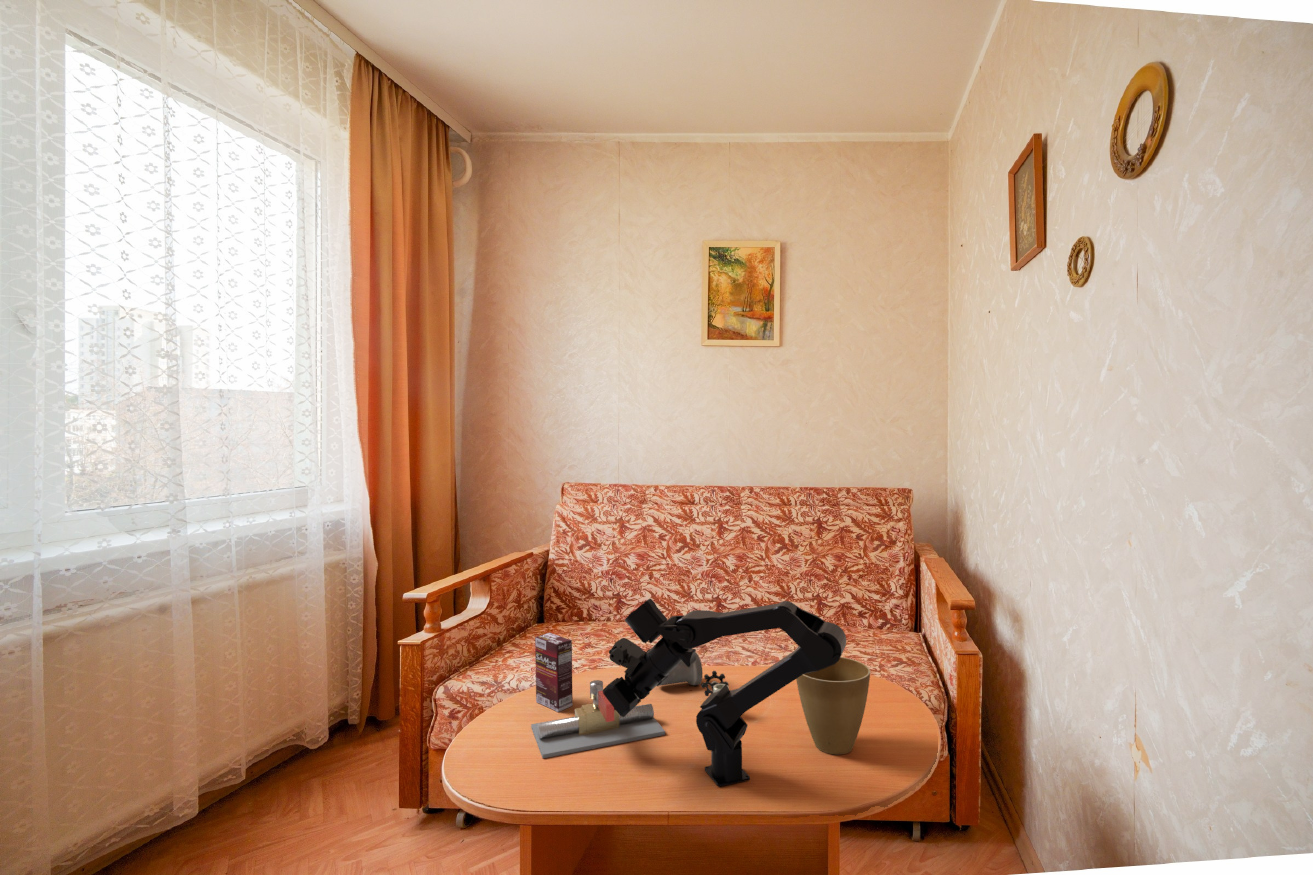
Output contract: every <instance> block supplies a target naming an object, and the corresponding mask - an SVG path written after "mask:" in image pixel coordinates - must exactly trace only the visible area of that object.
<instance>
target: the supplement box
mask: <svg viewBox="0 0 1313 875" xmlns="http://www.w3.org/2000/svg"><path fill="white" fill-rule="evenodd" d="M534 642H535V643H534V646H535V647H534V648H535V702H536V704H537V703H538V704H540V705H542V706H544V707H546V708H549V709H552V710H553V711H555V712H556V713H560V712H562V711H565V710H566V709H569V708H571V707H572V706H573V704H574V703H573V641H572V639H571V638H566V637H563V636H561V635H558V634H554V633H552V632H546V633H544V634H540V635H538V636H535V637H534Z"/></svg>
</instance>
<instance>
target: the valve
mask: <svg viewBox="0 0 1313 875" xmlns="http://www.w3.org/2000/svg"><path fill="white" fill-rule="evenodd" d="M711 674H712V675H709V674H707V673H706V674H704V676H703V677H704V680H705V682H704V681H703V682H701V684H700V686H701V688H702V689H705V688H706V689H705V690H704V695H705V697H709V696H710V694H711V693H714V692H717V691H719V690H720V689H721V688H722V687H723V686H724V685H725V684H727V686H728V688H729V685H730V684H729V682H728V681H727V680H726V681H724V680H725V679H726V676H725V674H724V673H720V674H719V675H718V673H717V670H713V671H711ZM713 679H717V680H719V682H718V681H715V680H713ZM711 680H713V681H712V682H710V681H711ZM709 686H710V687H711V689H710V688H709ZM729 689H730V688H729Z"/></svg>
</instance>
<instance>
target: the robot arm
mask: <svg viewBox="0 0 1313 875" xmlns="http://www.w3.org/2000/svg"><path fill="white" fill-rule="evenodd" d="M624 622H625V623H626V624H627V625H628V626H629V628H630V629H631V630H632V631H633V633H634V634H635V635H636V636H637V638H639V639H640V641H641V642H642V643H644V644H647V642H648V643H649V644H652V643H654V642H655V641H656V640H657V639H658V638H659V637H661V638H660V639H659V640H658V641H657V642H656V643H655V644H654V645H653V646H652V647H651V648H649V649H648V650H647V651H645V650H644V649H642V647H640V646H639V645H637V644H636V643H634V642H633V641H631V640H630V639H628V638H626V637H622V638H620V639H618V640H617V641H615V643H614V644H613V646H612V648H611V649H609V650H608V653H609V655H608V656H609V660H610V661H611V662H612V663H614V664H616V665H617V666H621V667H624V668H625V670H624V671H623V672H624V677H622V676H621V677H616V678H615V679H613V680H612V681H611V682H610V683H608V684H607V685H606V686H605V687H603V694H604V695H605V697H606V698H607V699H608V701H609V702H610V703H611V704H612V706H613V707H614V710H616V711H617V712H618V713H619V715H620V716H622V717H624V716H626V715H627V714H628V713H629V712H630V711H631V710H632V709H633V708H634V707H635V706H638V705H639V704H640V703H641V702H642V700H644V699H646V697H648V696H649V695H650V693H651V691H652V690H654V689H655V688H657V687H659V685H660V684H661V683H663V682H664V681H665V680H666V679H667V678H668V674H669V673H670V672H671V671H672V670H673V669H674V668H675V667H676V666H677V665H678V664H679V663H680V662H681V661H683V662H684V663H685V665H686V666H687V667H690V666H691V665H692V664H693V663H694V662H695V661H696V654H695V652H696V650H697V649H695V648H697V647H700V646H703V645H706V644H707V643H710V642H712V641H715V640H717V639H719V638H721V637H728V636H734V635H741V634H748V633H749V634H750V633H755V632H760V631H768V630H774V629H780V630H782V631H783V632H785V633H786V635H787V636H789V638H790V639H791V640H792V641H793V642H794V643H795V645H797V647H796V649H794V651H791V653H789V654H788V655H786V656H785V657H783V658H782V659H779V660H778V661H776V662H775V663H774V664H772V665H771V666H769V667H768V668H766V669H765V670H763V671H762V672H761V673H759V674H758V675H756V676H755V677H753V678H751V679H750V680H748V681H747V682H746V683H744V684H743V685H741V686H739V687H738V688H735V689H730V688H728V687H729V686H727V684H725V685H724V686H723V687H722V688H721V689H720V690H719V691H717V692H714V693H710V694H709V696H707V698H706V699H705V700H704V701H703V703H702V704H700V706H699V708H700V710H699V712H698V713H697V714H696V719H695V722H696V727H697V729H698V731H699V732H700V733H701V735H702V739H703V741H704V745H705V747H706V749H707V751H710V752H711V753H710V754H711V755H710V756H711V761H710V762H711V765H707V766H704V771H705V772H706V774H707V775H708V776H709V777H710V778H711V779H712V781H713V782H714V783H715V785H716V786H718V787H725V786H729V785H733V784H738V783H742V782H746V781H749V780H750V779H751V777H750V775H749V774H748V773H747V772H746V771H745V770H744V769H743V742H742V738H743V736H745V734H746V732H747V729H748V727H749V726H748V723H747V722H746V721H745V720H744V718H743V717H742V716H743V715H744V714H745V713H746V712H747V711H749V710H750V709H752V708H754V707H755V706H757V705H758V704H760V703H761V702H763V701H765V700H766V699H767V698H769V697H771V696H772V695H774V694H775V693H777V692H778V691H780V690H781V689H783V688H784V687H786V686H788V685H789V684H791V683H792V682H794V681H796V679H797V678H798V677H800V676H801V675H803V674H806V673H811V672H816V671H819V670H822V669H824V668H827V667H829V666H832V665H834V664H836V663H837V662H838V661H839V659H840V657H842V654H843V652H844V651H845V649H846V646H847V636H846V633H845V632H844V630H843V628H841V627H840V626H839V625H837V623H835V622H834V623H833V622H829V621H826V620H824V619H822V618H821V617H819V616H818V615H817V614H814V613H811V612H809V611H807V610H805V609H803V608H801V607H799V606H798V605H797V604H795V603H793V602H791V601H789V600H783V601H780V602H778V603H773V604H768V605H761V606H755V607H750V608H743V609H737V610H736V609H735V610H731V611H726V612H721V611H720V612H719V611H713V610H697V609H696V610H692V611H689V612H687V613H686V614H684V615H672V616H670V617H669V618H667V617H666V615H664V613H663V612H662V611H661V610H660V609H659V607H658V606H657V604H656V603H655V601H654V600H653V599H652V598H648V599H647V600H645V601H644V602H643V603H642V604H641V605H640V606H638V607H636V609H634V610H633V611H631V612H630V613H629V614H628V616H626V617H625V619H624ZM696 653H697V652H696Z"/></svg>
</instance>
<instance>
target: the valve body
mask: <svg viewBox="0 0 1313 875" xmlns="http://www.w3.org/2000/svg"><path fill="white" fill-rule="evenodd" d="M653 717H654V718H655V712H654V705H653V704H652V703H648V704H640V706H639V705H636V706H635V707H634V708H633V709H632V710H631V711H630V712H629V713H628V714H627V715H626V716H624V717H622V716H620V715H619V713H618V712H617V711H616V710H614V721H610V722H606V720H605V719H604V717H603V715H602V713H601V711H600V710H599V708H598V702H597V701H596V699H592V703H588V704H581V707H577V708H574V716H571V718H570V717H565V718H566V719H564V718H560V720H559V719H554V721H553V720H548V722H547V721H543V722H542V721H541V722H542V723H541V722H537V723H538V736H539V739H542V738H547V737H553V736H558V735H564V734H569V733H575V732H578V734H579V735H584V734H592V733H598V732H603V731H609V730H613V729H617V728H619V724H624V723H629V722H635V721H640V720H646V719H651V718H653Z"/></svg>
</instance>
